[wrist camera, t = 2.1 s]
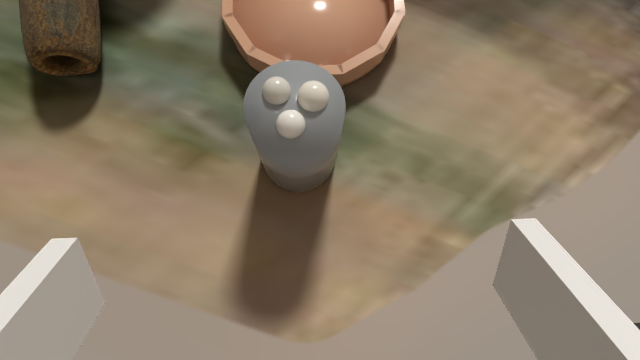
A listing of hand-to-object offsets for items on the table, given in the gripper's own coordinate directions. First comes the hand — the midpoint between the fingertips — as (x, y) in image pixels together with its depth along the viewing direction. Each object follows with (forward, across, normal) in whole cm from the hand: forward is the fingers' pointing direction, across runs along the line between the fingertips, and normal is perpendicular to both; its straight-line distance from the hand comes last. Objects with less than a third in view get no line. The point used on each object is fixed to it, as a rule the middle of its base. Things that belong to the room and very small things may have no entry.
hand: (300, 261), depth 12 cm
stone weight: (+35, -23, +3) cm, 42 cm away
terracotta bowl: (+35, +2, +4) cm, 35 cm away
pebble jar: (+24, 0, -8) cm, 25 cm away
